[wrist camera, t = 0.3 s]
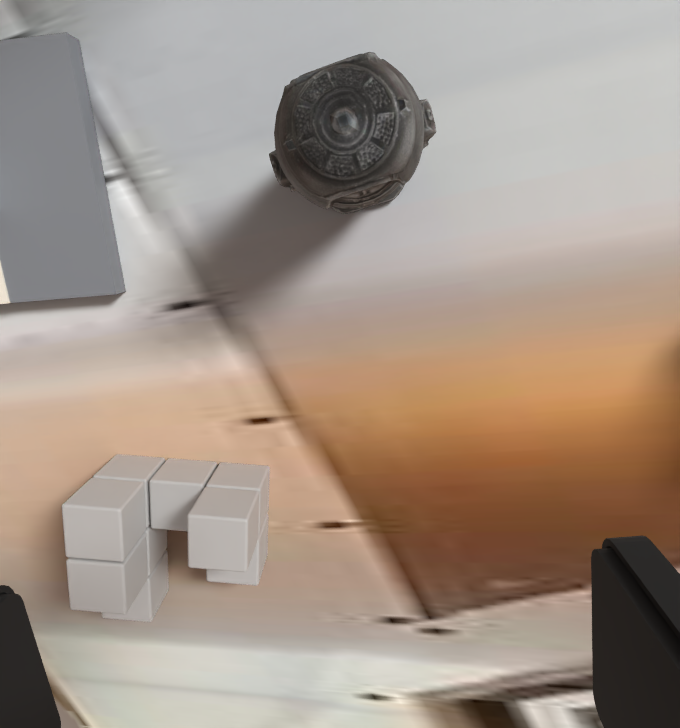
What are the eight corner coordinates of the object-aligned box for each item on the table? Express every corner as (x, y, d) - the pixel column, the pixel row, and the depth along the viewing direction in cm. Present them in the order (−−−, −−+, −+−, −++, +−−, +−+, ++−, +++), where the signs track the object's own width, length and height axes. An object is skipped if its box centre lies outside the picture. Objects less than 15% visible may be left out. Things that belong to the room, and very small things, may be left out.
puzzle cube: (123, 586, 46) (73, 660, 38) (116, 452, 42) (60, 504, 35) (266, 598, 45) (245, 676, 37) (270, 464, 42) (247, 520, 34)
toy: (309, 227, 37) (269, 233, 23) (282, 138, 36) (221, 85, 21) (431, 188, 36) (472, 169, 21) (408, 96, 35) (435, 8, 20)
